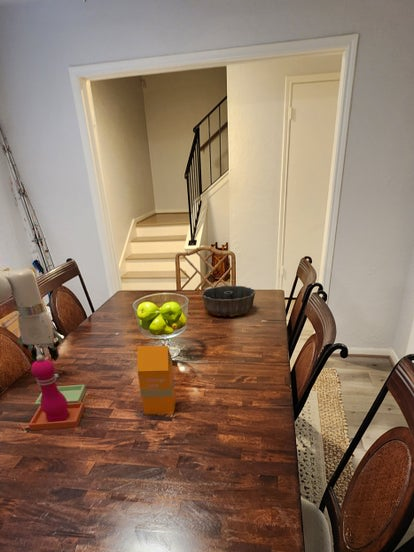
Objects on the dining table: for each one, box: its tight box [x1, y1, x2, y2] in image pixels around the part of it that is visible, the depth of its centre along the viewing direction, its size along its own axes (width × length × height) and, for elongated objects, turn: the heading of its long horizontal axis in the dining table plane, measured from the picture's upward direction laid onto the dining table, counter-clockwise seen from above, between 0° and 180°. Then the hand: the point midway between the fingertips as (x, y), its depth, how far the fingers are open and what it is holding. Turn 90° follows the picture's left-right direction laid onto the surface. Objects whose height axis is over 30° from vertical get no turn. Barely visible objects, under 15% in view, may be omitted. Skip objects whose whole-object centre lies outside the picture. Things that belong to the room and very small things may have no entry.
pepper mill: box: [30, 355, 69, 422], centre depth 104 cm, size 7×7×20 cm
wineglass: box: [35, 344, 59, 379], centre depth 130 cm, size 6×6×12 cm
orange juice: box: [136, 345, 177, 415], centre depth 107 cm, size 8×9×20 cm
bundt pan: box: [201, 285, 256, 318], centre depth 183 cm, size 26×26×10 cm
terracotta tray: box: [28, 401, 86, 431], centre depth 109 cm, size 13×10×2 cm
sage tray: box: [34, 384, 87, 410], centre depth 119 cm, size 13×10×2 cm
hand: (46, 359), depth 129 cm, fingers closed on wineglass, 5 cm apart
